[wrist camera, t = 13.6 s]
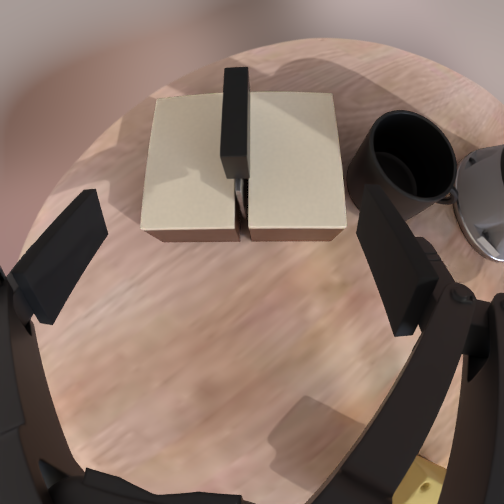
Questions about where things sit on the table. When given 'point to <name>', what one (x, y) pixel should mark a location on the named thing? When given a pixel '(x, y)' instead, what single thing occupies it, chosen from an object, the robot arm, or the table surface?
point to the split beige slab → (261, 171)
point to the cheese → (420, 483)
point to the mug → (405, 163)
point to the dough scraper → (236, 131)
